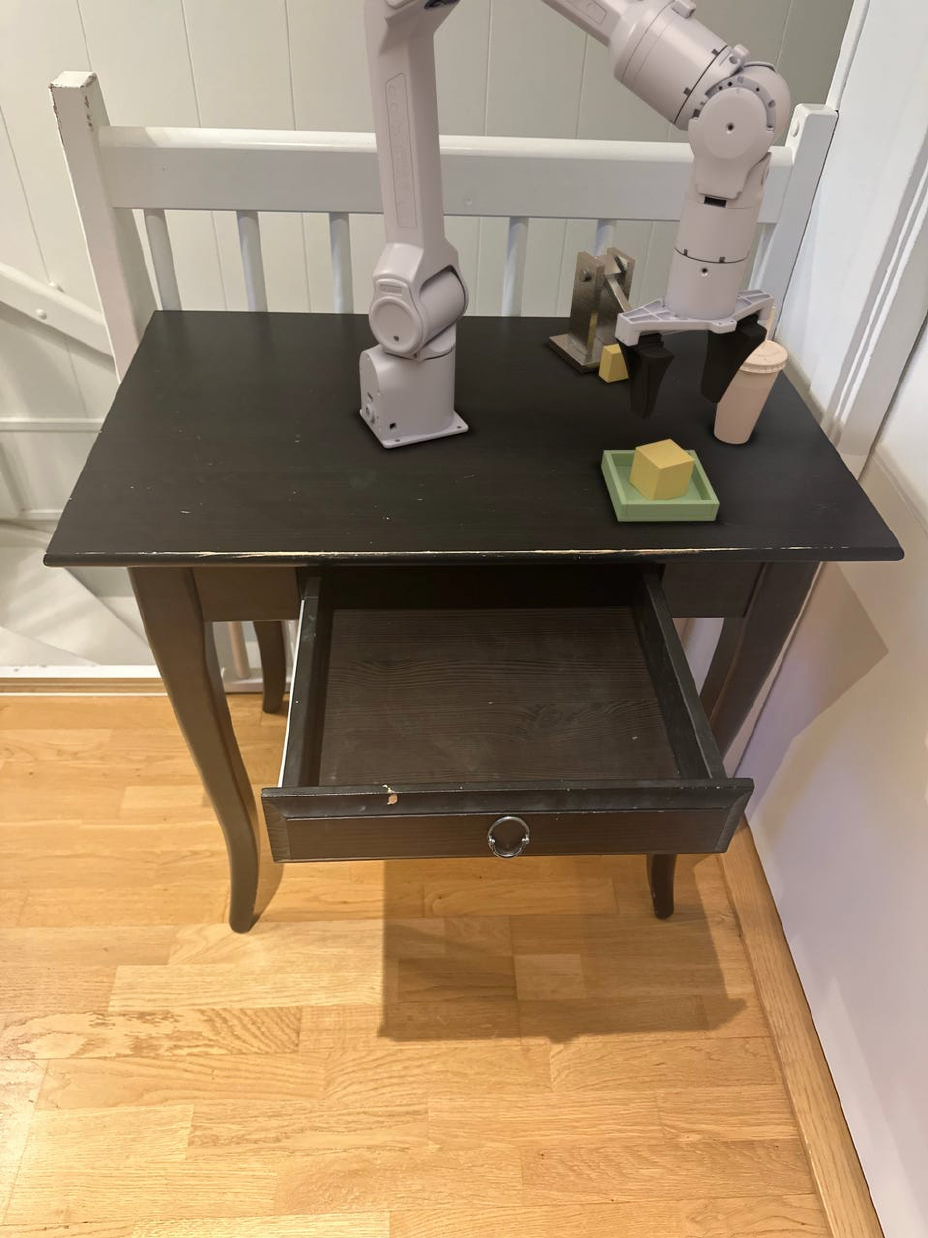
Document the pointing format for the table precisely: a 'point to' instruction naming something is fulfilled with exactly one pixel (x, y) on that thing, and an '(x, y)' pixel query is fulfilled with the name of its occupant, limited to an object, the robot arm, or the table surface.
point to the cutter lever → (613, 283)
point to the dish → (636, 507)
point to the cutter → (592, 312)
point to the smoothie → (749, 390)
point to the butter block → (612, 364)
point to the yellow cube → (661, 470)
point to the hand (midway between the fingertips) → (675, 406)
